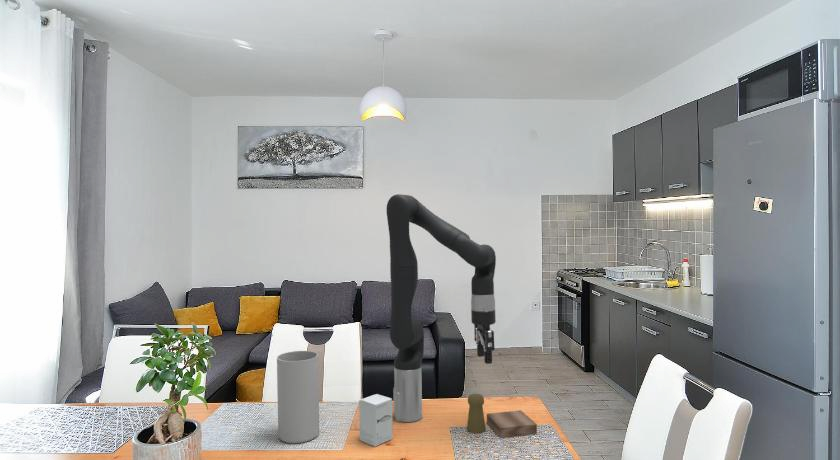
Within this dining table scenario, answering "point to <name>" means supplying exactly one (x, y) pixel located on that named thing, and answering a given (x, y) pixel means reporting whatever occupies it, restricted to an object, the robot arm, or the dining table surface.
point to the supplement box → (375, 419)
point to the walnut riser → (511, 424)
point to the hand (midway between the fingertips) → (484, 359)
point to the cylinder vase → (298, 396)
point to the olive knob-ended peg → (476, 414)
